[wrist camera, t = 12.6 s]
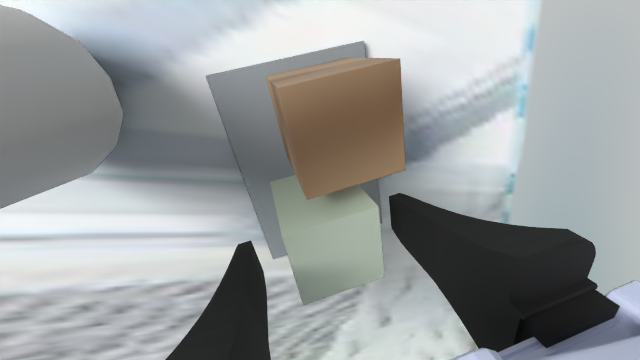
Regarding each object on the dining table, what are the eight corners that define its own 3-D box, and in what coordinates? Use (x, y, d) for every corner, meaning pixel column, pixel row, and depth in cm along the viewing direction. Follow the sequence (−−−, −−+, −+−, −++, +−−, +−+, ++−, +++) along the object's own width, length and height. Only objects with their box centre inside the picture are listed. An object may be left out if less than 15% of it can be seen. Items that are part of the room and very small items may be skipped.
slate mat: (380, 220, 18) (382, 223, 18) (272, 256, 17) (273, 259, 17) (361, 41, 13) (364, 40, 13) (206, 75, 12) (205, 76, 12)
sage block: (347, 219, 17) (384, 276, 13) (287, 238, 16) (303, 305, 12) (339, 162, 15) (378, 206, 11) (269, 182, 14) (281, 236, 10)
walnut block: (356, 135, 15) (405, 169, 10) (286, 155, 14) (306, 200, 10) (346, 57, 13) (400, 58, 8) (265, 76, 12) (278, 87, 8)
